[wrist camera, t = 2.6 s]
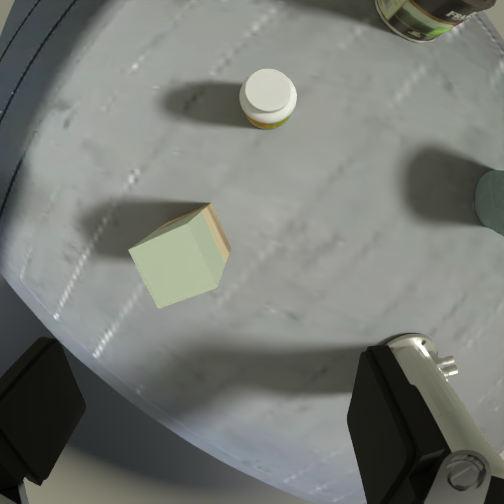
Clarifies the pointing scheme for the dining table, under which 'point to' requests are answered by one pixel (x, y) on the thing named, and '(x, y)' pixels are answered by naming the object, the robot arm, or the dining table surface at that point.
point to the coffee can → (427, 16)
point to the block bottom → (213, 226)
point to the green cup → (491, 200)
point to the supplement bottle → (267, 98)
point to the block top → (179, 260)
